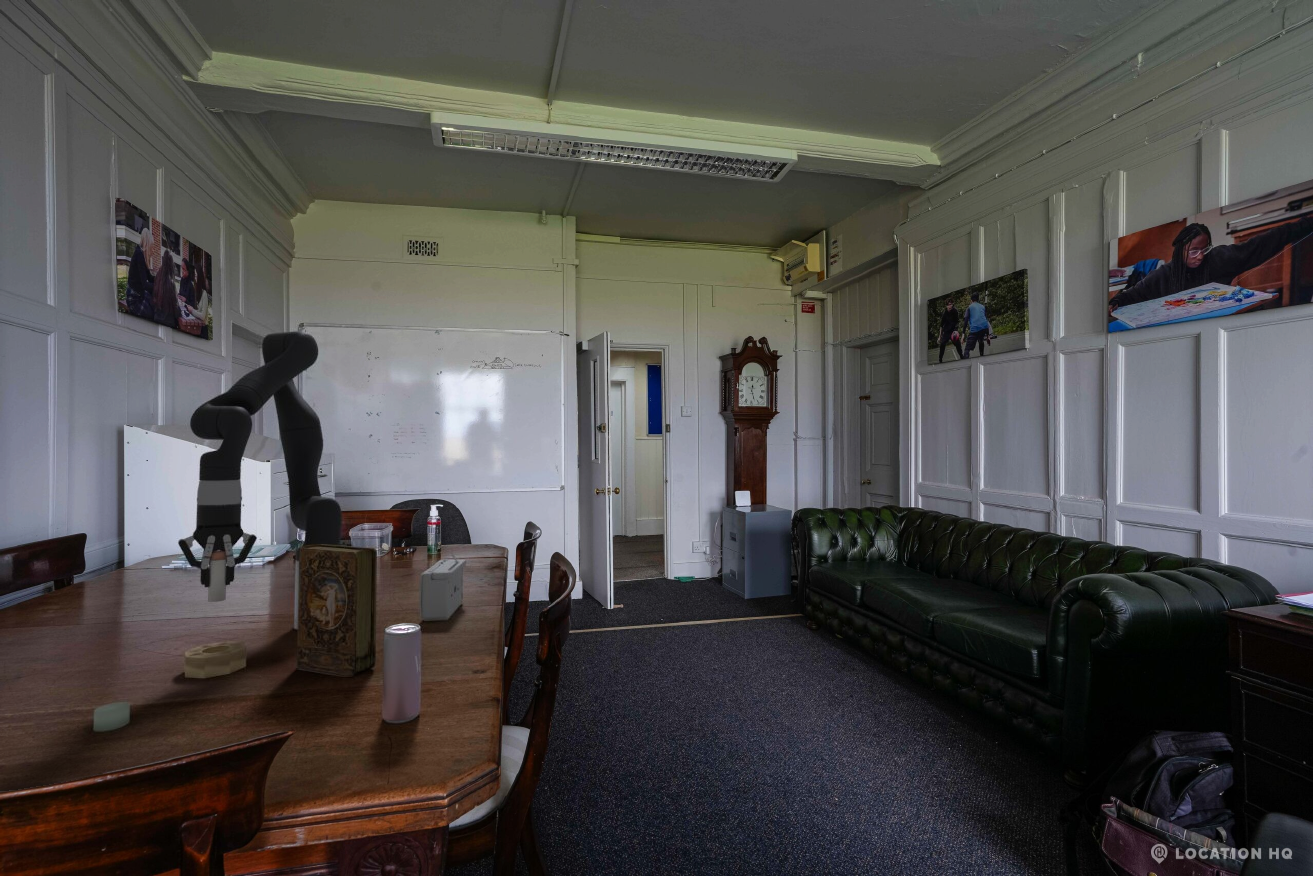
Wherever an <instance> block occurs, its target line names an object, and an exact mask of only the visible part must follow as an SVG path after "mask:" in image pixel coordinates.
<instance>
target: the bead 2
mask: <svg viewBox="0 0 1313 876" xmlns="http://www.w3.org/2000/svg"><path fill="white" fill-rule="evenodd" d="M246 666H247V646H246V644H245V641H244V642H243V641H221V642H216V643H215V642H214V643H209V644H208V643H207V644H201V645H199V646H197V647H194V648H191V649H189V650H186V651H185V652H184V678H189V679H190V678H192V679H207V678H213V677H218V676H225V675H229V674H230V675H231V674H232V673H234V672H237V671H239V670H241V669H244V668H247V667H246Z"/></svg>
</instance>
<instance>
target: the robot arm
mask: <svg viewBox="0 0 1313 876" xmlns="http://www.w3.org/2000/svg"><path fill="white" fill-rule="evenodd" d="M318 346H319V345H318V343H317V341H316V339H315V337H313V335H312V334H310V333H309V332H306V331H298V330H297V331H296V330H295V331H284V332H274V333H269V334H266V335H265V336H264V338H263V339H262V344H261V349H262V350H261V352H262V358H263V362H264V364H263V365H262V366H259V367H256V368H255V369H253V370H251V371H249V372H248V373H246V374H244V375H243V376H242V377H241V378H240V379H238V380H237V381H236V382H235V383H234V384H233V385H232V386H231V387H230V388H229V389H228V390H227V391H225V392H223V393H222V394H221V393H220V394H218V395H217V396H215V397H213V398H211V399H210V400H207V401H206V402H204V403H203V404H201V405H200V406H198V407H197V408H196V409H195V410H194V412H193V413H192V415H191V416H190V417H191V418H190V421H189V422H190V423H189V425H190V429H191V432H192V433H193V435H195V436H196V437H198V438H199V439H203V440H208V441H209V440H213V441H214V440H215V441H216V440H218V441H219V440H220V441H222V442H221V444H220V446H219V448H218V449H215V450H212V451H211V450H210V451H207V452H204V453H203V454H201V456H200V459H199V473H198V476H199V477H198V480H199V481H198V486H197V492H196V494H197V495H196V519H195V520H196V521H195V530H194V532H193V533H192V535H190V536H188V537H184V538H181V539H180V538H179V540H178V547H180V549H181V551H182V553H183V555H184V557H185V559H186V561H187V562H188V564H189V566H190V567H191V568H198V569H200V576H199V577H200V584H201V586H203V585H204V588H208V587H209V573H210V569H209V561H210V557H211V554H212V552H215V551H225V552H226V558H227V567H226V586H229V585H231V583H232V582H234V581H235V569H236V566H237V565H238V564H241V563H242V564H243V563H244V562H245V561H246V559H247V558H248V556H249V554H250V552H251V551H252V549H253V547H254V545H255V543H256V541H257V538H258V536H257V535H256V534H250V533H247V532H244V530H243V528H242V524H241V523H242V501H243V495H242V481H241V480H242V479H241V476H242V474H241V473H242V460H243V456H244V453H245V451H246V448H247V447H246V446H247V444H248V441H249V439H250V436H251V433H252V428H253V419H252V416H253V415H256V414H257V413H258V412H259V411H260V410H261V409H262V408H263V406H264V405H265V404H266V403H267V402H268V401H269V400H270V399H271V398H274V399H273V400H274V405H275V411H276V415H277V422H278V424H277V425H278V430H279V435H280V436H279V437H280V442H281V447H282V451H283V457H284V465H285V469H286V474H287V481H288V495H289V498H288V499H289V514H290V519H291V521H292V523H293V525H294V527H296V528H297V529H299V530H300V531H303V532H304V541H303V544H302V545H301V546H300V547H302V546H308V545H317V544H326V545H339V546H341V539H342V536H341V535H342V524H343V523H342V521H343V516H342V515H343V514H342V509H341V505H340V504H339V502H338V501H337V500H335V499H334V498H332V497H328V496H327V497H326V496H322V494H321V489H320V485H319V479H318V477H319V472H318V471H319V467H320V462H321V460H322V454H323V450H324V437H323V431H322V424H321V421H320V418H319V416H318V414H317V413H316V411H315V410H314V409H313V407H312V406H311V405H310V404H309V403H308V402H307V400H306V399H304V397H303V396H302V395H301V393H300V392H299V390H298V389H297V386H296V385H295V384H296V383H295V382H294V379H295V377H296V378H297V376H299V375H300V374H302V373H303V372H304V371H306V370H308V369H309V368H311V367H312V366H313V365H314V364H315V363H316V361H317V359H318V358H319V357H318V356H319V347H318ZM241 538H242V543H243V544H244V545H243V546H242V548H241V551H240V552H239V554H238V556H236V557H235V556H234V550H233V548H234V546H235V545H236V544H237V543H238V541H240V540H241ZM194 541H196V542H197V544H198V545H200V547H201V548H202V549H203V551H202V557H201V560H198V559H196V557H195V555H194V553H193V551H192V550H191V548H192V547H193V546H194ZM300 547H298V548H297V549H296V550H295V573H294V574H295V576H294V577H295V578H294V582H295V583H294V621H293V623H294V629H295V630H297V631H298V591H299V548H300Z"/></svg>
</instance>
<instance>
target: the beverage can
mask: <svg viewBox="0 0 1313 876" xmlns="http://www.w3.org/2000/svg"><path fill="white" fill-rule="evenodd" d="M382 650H383V651H382V652H383V653H382V654H383V655H382V705H381V707H382V708H381V709H382V711H381V716H382V719H383V720H384V721H385V722H386V723H389V724H402V723H408V722H410V721H412V720H414V719H416V718H417V717H418V715H419V714H420V712H421V692H422V691H421V682H422V679H421V677H422V675H421V673H422V631H421V626H420V625H419V624H416V623H399V624H394V625H390V626H387V627H386V628H385V629H384V635H383V649H382Z"/></svg>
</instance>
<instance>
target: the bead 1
mask: <svg viewBox="0 0 1313 876" xmlns="http://www.w3.org/2000/svg"><path fill="white" fill-rule="evenodd" d="M130 704H131V703H130V702H128V701H118V702H112V703H111V702H110V703H107V704H104V705H103V704H102V705H101V706H99V707H97V708H95V709H94V711H93V726H92V727H93V731H94V732H109V731H114V730H117V729H120V728H123V727H125V726H127V725H128V724H130V714H131V708H130V707H131V705H130Z"/></svg>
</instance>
